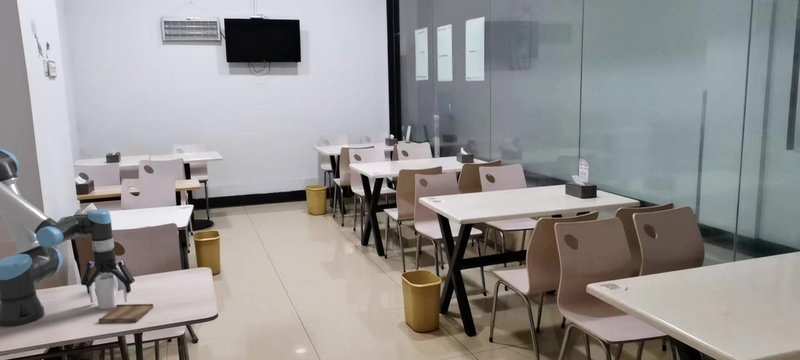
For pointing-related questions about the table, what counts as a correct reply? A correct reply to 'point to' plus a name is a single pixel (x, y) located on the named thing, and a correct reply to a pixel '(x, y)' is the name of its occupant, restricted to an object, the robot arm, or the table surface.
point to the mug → (106, 290)
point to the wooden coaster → (126, 313)
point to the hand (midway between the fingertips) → (110, 301)
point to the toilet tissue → (120, 284)
